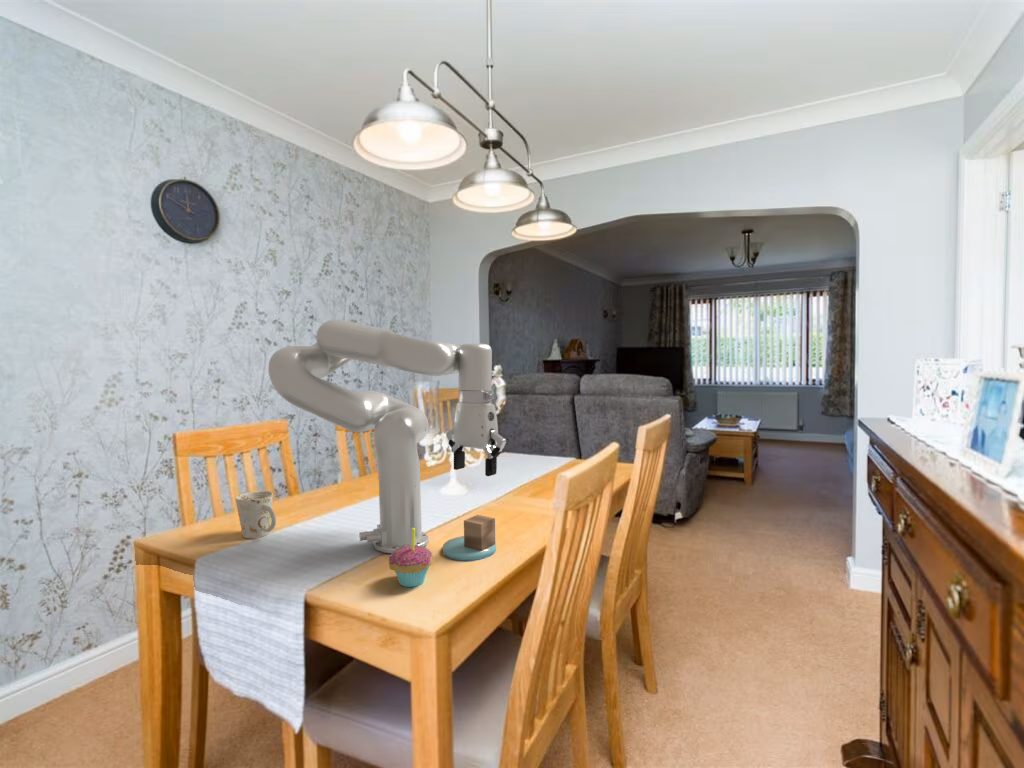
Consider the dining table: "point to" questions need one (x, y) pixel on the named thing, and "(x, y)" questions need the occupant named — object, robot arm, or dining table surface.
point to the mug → (256, 513)
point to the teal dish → (465, 550)
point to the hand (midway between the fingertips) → (474, 471)
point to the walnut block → (479, 532)
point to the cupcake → (410, 563)
